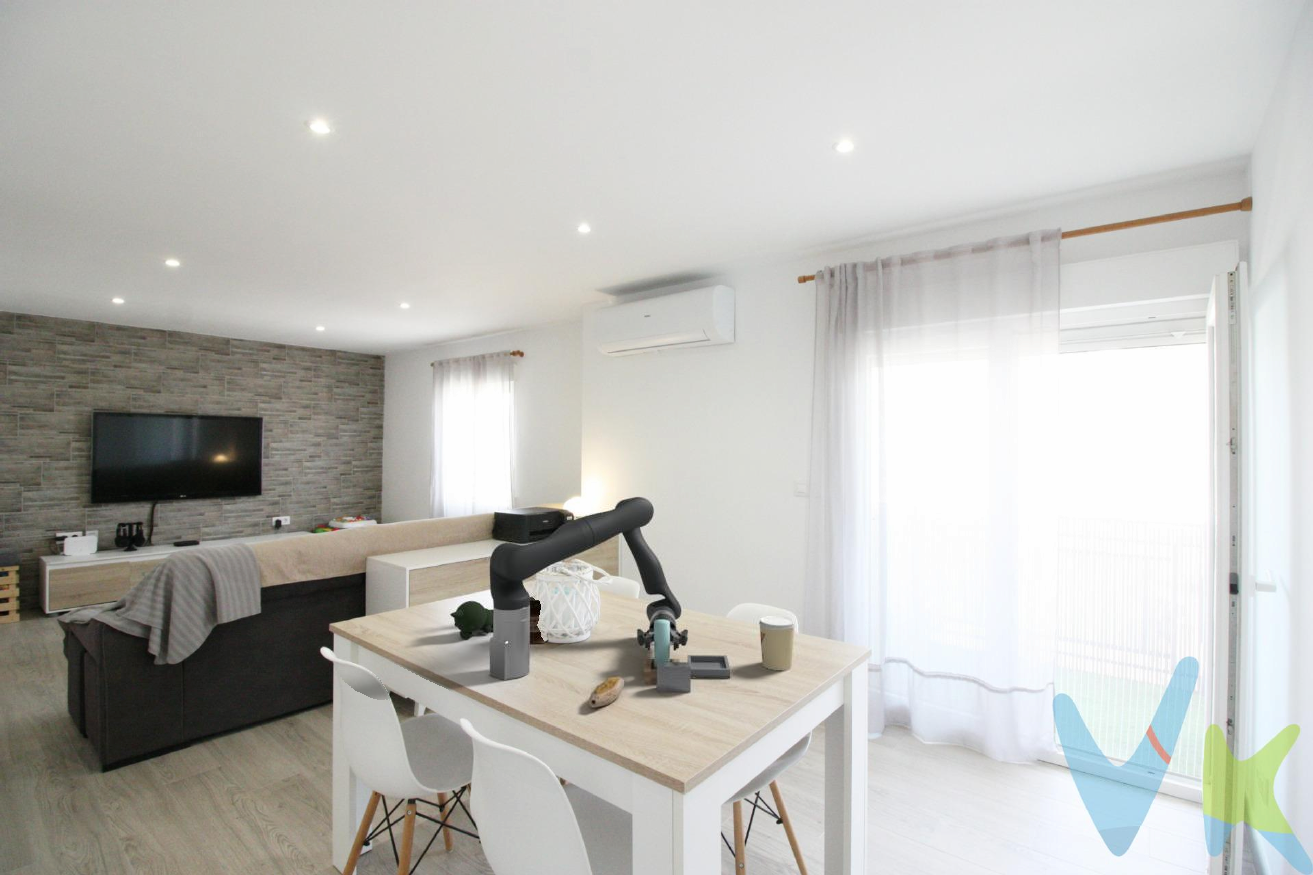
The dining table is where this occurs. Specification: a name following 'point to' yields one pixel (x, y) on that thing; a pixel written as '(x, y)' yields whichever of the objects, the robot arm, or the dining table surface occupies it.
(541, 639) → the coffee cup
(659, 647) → the dowel
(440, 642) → the dining table surface
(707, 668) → the tray
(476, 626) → the toy figurine
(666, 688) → the gray rectangular block
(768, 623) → the coffee cup
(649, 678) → the socket
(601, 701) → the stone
